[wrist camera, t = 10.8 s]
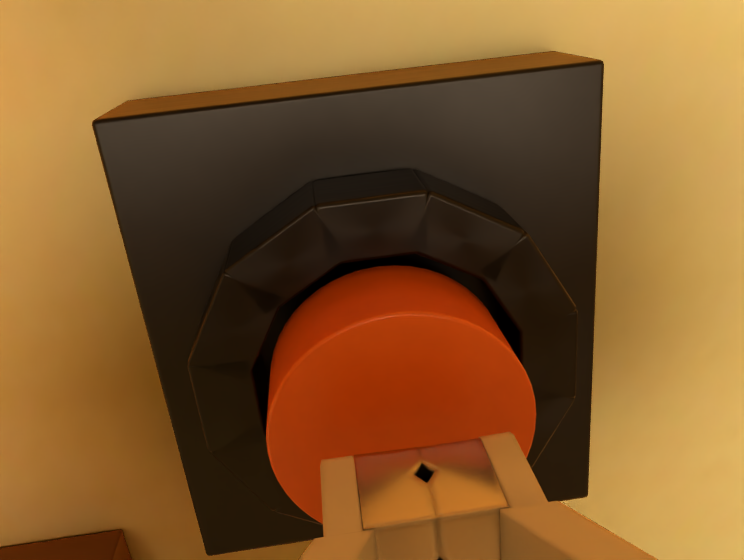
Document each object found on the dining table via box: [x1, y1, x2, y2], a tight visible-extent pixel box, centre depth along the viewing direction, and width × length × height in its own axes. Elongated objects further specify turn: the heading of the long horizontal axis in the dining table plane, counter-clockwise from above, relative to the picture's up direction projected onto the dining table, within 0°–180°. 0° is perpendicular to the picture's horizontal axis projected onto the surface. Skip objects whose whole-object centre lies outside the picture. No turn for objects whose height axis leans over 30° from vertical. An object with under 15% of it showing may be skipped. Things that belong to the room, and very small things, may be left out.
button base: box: [92, 51, 604, 556], centre depth 15 cm, size 11×10×4 cm
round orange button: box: [266, 265, 536, 524], centre depth 13 cm, size 5×5×2 cm
